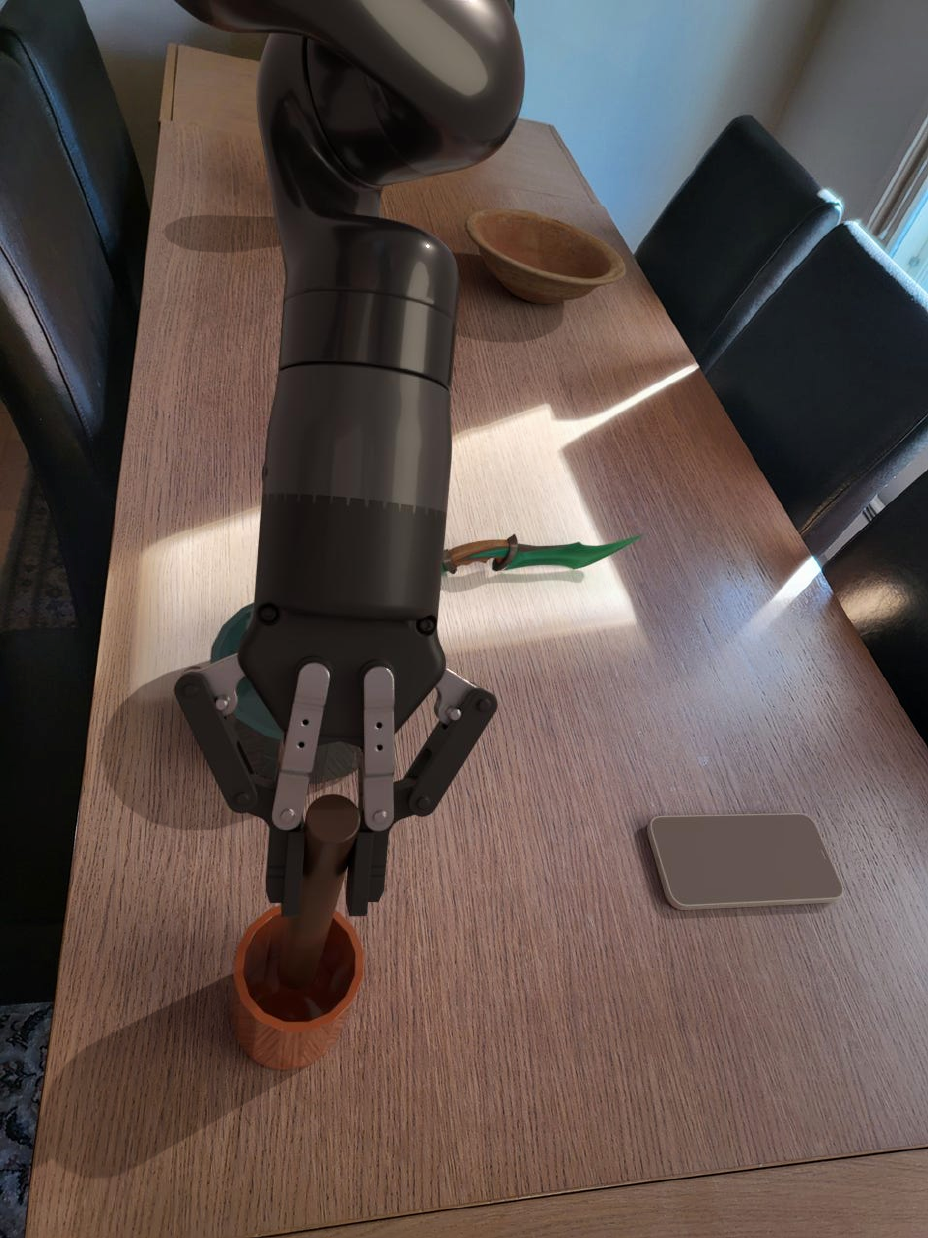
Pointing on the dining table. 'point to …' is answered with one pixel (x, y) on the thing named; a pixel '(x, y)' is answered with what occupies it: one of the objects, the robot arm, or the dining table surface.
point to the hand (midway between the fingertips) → (323, 907)
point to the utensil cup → (292, 994)
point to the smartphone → (742, 860)
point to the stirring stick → (318, 886)
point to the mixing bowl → (260, 726)
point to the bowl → (542, 255)
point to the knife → (528, 554)
